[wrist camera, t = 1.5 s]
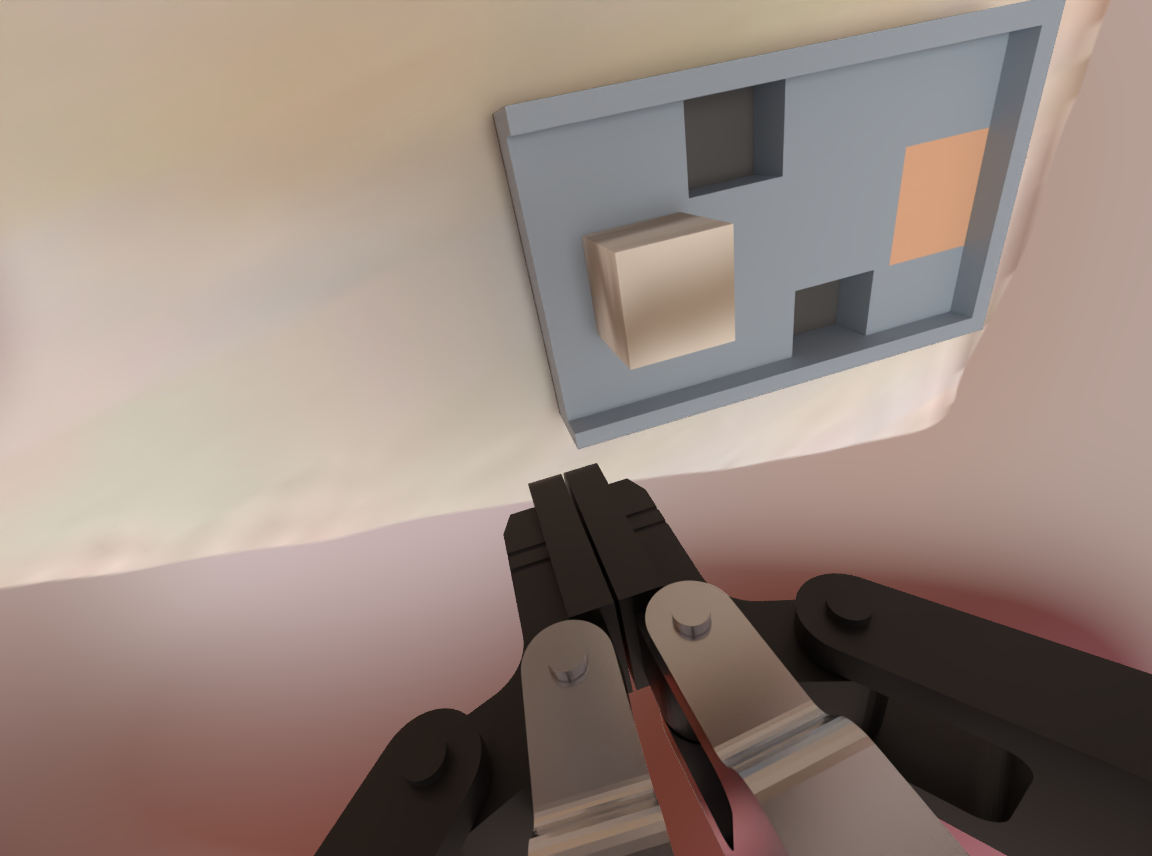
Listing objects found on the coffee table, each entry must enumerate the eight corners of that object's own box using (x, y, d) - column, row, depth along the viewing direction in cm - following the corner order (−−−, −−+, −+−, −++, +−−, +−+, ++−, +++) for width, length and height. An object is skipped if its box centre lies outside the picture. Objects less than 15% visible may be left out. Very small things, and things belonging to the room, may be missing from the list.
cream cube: (581, 235, 23) (614, 252, 19) (679, 211, 24) (733, 223, 20) (597, 335, 26) (630, 370, 22) (686, 311, 27) (735, 340, 22)
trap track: (492, 114, 23) (504, 106, 19) (974, 17, 26) (1067, -7, 22) (559, 413, 31) (578, 449, 27) (920, 310, 34) (982, 329, 30)
